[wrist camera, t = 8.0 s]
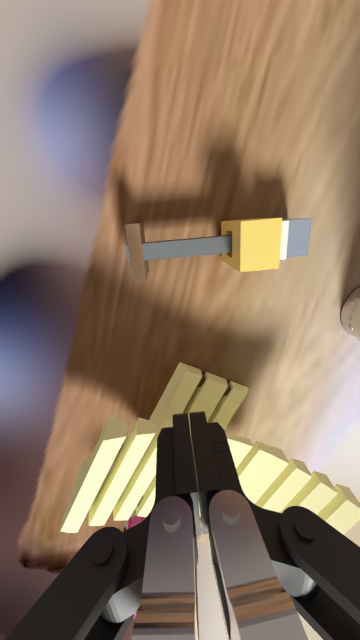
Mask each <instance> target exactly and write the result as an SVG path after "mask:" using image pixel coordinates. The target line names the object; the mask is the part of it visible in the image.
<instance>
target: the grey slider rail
mask: <svg viewBox="0 0 360 640" xmlns="http://www.w3.org/2000/svg"><path fill="white" fill-rule="evenodd" d="M142 249H143V257H144V261H146V260H157V259H168V258H179V257H190V256H201V255H212V254H223V253H232V235H223V236H211V237H200V238H189V239H178V240H167V241H155V242H144V243H142ZM126 251H127V257H128V262H130V256H129V249H128V244H127V245H126Z"/></svg>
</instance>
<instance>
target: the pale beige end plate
mask: <svg viewBox="0 0 360 640" xmlns="http://www.w3.org/2000/svg"><path fill="white" fill-rule="evenodd" d="M288 230H289V221H282V231H281V245H280V259H279V260H284V259H286V255H287V242H288Z"/></svg>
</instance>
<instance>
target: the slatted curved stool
mask: <svg viewBox="0 0 360 640" xmlns="http://www.w3.org/2000/svg"><path fill="white" fill-rule="evenodd" d="M197 385H198V386H197ZM196 387H197V388H196ZM248 389H249V388H248V387H246V386H243V385H240V384H238V383H235V382H232V381H230V382H229V384H228V383H227V381H226V379H224V378H221V377H219V376H216V375H213V374H211V373H208V372H205V374H202V373H201V370H200V369H197V368H195V367H192V366H189V365H187V364H184V363H181V362H180V363H179V364H178V366H177V368H176V370H175V372H174V374H173V376H172V378H171V379H170V381H169V383H168V385H167V387H166V389H165V391H164V393H163V394H162V396H161V398H160V400H159V402H158V404H157V406H156V408H155V409H154V411H153V413H152V415H151V417H150V419H149V420H146V419H142V418H139V417H138V419H137V421H136V423H135V425H134V427H133V429H132V431H131V433H130V435H129V436H128V438H127V440H126V442H125V444H124V446H123V447H122V449H121V451H120V453H119V454H118V456H117V458H116V459H115V457H116V455H117V453H118V451H119V449H120V448H121V446H122V444H123V442H124V440H125V438H126V434H127V428H128V421H124V420H121V419H118V418H114V417H111V416H110V417H109V419H108V421H107V423H106V425H105V427H104V430H103V432H102V434H101V436H100V438H99V440H98V442H97V444H96V446H95V449H94V451H93V453H92V455H91V457H89V456H87V455H86V457H85V460H84V462H83V464H82V466H81V469H80V471H79V473H78V475H77V477H76V480H75V483H74V486H73V489H72V492H71V495H70V498H69V501H68V504H67V507H66V510H65V513H64V516H63V520H62V523H61V527H60V531H62V532H67V533H75V532H78V530H79V528H80V526H81V524H82V522H83V520H84V518H85V516H86V514H87V512H88V510H89V509H90V507H91V509H90V514H89V520H88V525H89V526H100V525H104V524H105V523H106V521H107V519H108V517H109V516H110V514H111V512H112V510H113V508H114V510H113V518H114V520H128V519H129V518H130V516H131V514H132V513H133V511H134V509H135V511H136V515H137V516H141V517H147V516H148V514H149V513H150V511H151V510H152V508H153V505H154V502H155V488H156V461H157V459H156V455H157V437H158V435H159V433H160V431H161V429H162V428H167V427H173V416H172V415H173V414H183V413H188V418H189V413H191V412H201V411H205V415H206V420H207V423H212V422H218V423H219V424H220V426H221V427H222V428H223V429H224V430H225V429H226V427H227V425H228V423H229V422H230V420H231V419H232V417H233V415H234V414H235V412H236V411H237V409H238V408H239V406H240V404H241V403H242V401H243V400H244V398H245V397H246V395H247V394H248ZM194 390H195V391H194ZM193 392H194V393H193ZM189 426H190V418H189ZM225 433H226V437H227V440H228V444H229V447H230V451H231V454H232V457H233V461H234V464H235V467H236V471H237V474H238V478H239V481H240V485H241V488H242V490H243V492H244V494H245V495H246V497H247V498H248V499H249V500H250V501H251V502H252V503H254V504H255V505H257V506H259V507H261V508H264V509H267V510H271V511H275V512H279V513H282V512H283V511H284V510H285V509H286V508H288V507H291V506H301V507H304V508H307V509H309V510H311V511H312V512H314V513H315V514H316V515H318V516H319V517H320V518H322V519H323V520H324V521H326V522H327V523H328V524H330V525H331V526H332V527H334V528H335V529H336V530H338V531H339V532H340V533H342V534H343V535H344V534H345V533H346V532H347V531H348V530H349V529H350V528H351V527H352V526H353V525H355V524H356V523H357V522H358V521H359V520H360V503H359V501H358V500H357V499H356V497H355V496H354V494H353V493H352V492H351V490H350V489H349V488H348V487H345V486H341V485H338V484H337V485H336V486H335V487H334V486H333V485H332V483H331V482H330V480H329V479H328V477H327V476H326V475H325V474H322V473H319V472H315V471H314V472H313V473H312V474H310V472H309V470H308V469H307V467H306V465H305V463H304V462H302V461H299V460H295V459H292V458H291V459H290V460H289V462H288V461H287V459H286V457H285V455H284V453H283V451H282V450H281V449H278V448H275V447H272V446H269V445H266V444H263V443H259V442H256V443H255V444H254V445H253V446H252V443H251V441H250V439H247V438H244V437H241V436H238V435H234V434H231V433H228V432H225ZM190 434H191V431H190ZM114 459H115V461H114ZM113 461H114V462H113ZM112 463H113V464H112ZM198 500H199V499H198ZM199 513H200V507H199ZM200 527H202V523H201V515H200Z"/></svg>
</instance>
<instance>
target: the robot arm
mask: <svg viewBox="0 0 360 640" xmlns="http://www.w3.org/2000/svg"><path fill="white" fill-rule="evenodd" d="M341 322H342V325H343V327H344V329H345V330H346V331H347V332H348V333H349V334H351V335H352V336H354V337H356V338H357V339H359V340H360V287H359V288H357V289H356V290H355V291H354V292H353V293H352V294H351V295H350V296H349V297H348V299H347V300H346V302H345V304H344V306H343V309H342V312H341ZM172 416H173V427H167V428H162V429H161V431H160V433H159V435H158V437H157V455H156V459H157V461H156V488H155V502H154V505H153V508H152V510H151V511H150V513H149V514H148V516H147V517H146V518H145V519H144V520H143V521H142V522H140V523H139V524H137V525H135V526H133V527H131V528H129V529H127V530H125V531H123V532H121V531H120V530H119V529H117V528H115V527H105V528H102V529H100V530H98V531H97V532H95V533H94V534H93V535H92V536H91V537H90V538H89V539H88V540H87V541H86V543H85V544H84V545H83V546H82V547H81V549H80V550H79V551H78V552H77V553H76V555H75V556H74V557H73V558H72V559H71V561H70V562H69V563H68V564H67V565H66V567H65V568H64V569H63V570H62V571H61V573H60V574H59V575H58V576H57V578H56V579H55V580H54V581H53V582H52V584H51V585H50V586H49V587H48V588H47V590H46V591H45V592H44V593H43V595H42V596H41V597H40V598H39V599H38V600H37V602H36V603H35V604H34V605H33V607H32V608H31V609H30V610H29V611H28V613H27V614H26V615H25V616H24V617H23V619H22V620H21V621H20V622H19V623H18V625H17V626H16V627H15V628H14V629H13V631H12V632H11V633H10V634H9V635H8V637H7V638H6V639H5V640H121V639H122V637H123V635H124V633H125V632H126V630H127V628H128V627H129V625H130V623H131V621H132V619H133V618H134V616H135V620H134V626H133V632H132V640H200V629H199V605H198V604H199V603H198V579H197V563H198V549H197V538H196V535H199V534H201V527H200V515H201V523H202V531H203V534H206V533H209V539H210V546H211V555H212V564H213V569H214V574H215V578H216V584H217V589H218V594H219V598H220V603H221V609H222V614H223V619H224V624H225V629H226V634H227V638H228V640H308V638H307V636H306V633H305V631H304V628H303V625H302V623H301V620H300V618H299V615H298V613H299V614H300V615H301V616H302V617H303V618H304V619H305V620H306V621H307V622H308V623H309V625H310V626H311V627H312V628H313V629H314V630H315V631H316V632H317V633H318V634H319V635H320V636H321V637H322V639H323V640H360V547H359V546H357V545H356V544H355V543H353V542H352V541H351V540H349V539H348V538H347V537H345V536H344V535H343V534H342V533H340V532H339V531H338V530H336V529H335V528H334V527H332V526H331V525H330V524H328V523H327V522H326V521H324V520H323V519H322V518H320V517H319V516H318V515H316V514H315V513H314V512H312V511H311V510H309V509H307V508H304V507H301V506H291V507H288V508H286V509H285V510H284V511H283V512H282V513H279V512H275V511H271V510H267V509H264V508H261V507H259V506H257V505H255V504H254V503H252V502H251V501H250V500H249V499H248V498H247V497H246V495H245V494H244V492H243V490H242V488H241V485H240V481H239V478H238V474H237V471H236V467H235V464H234V461H233V457H232V454H231V451H230V447H229V444H228V440H227V437H226V433H225V430H224V429H223V428H222V427H221V426H220V424H219V423H218V422H212V423H207V420H206V415H205V411H201V412H191V413H189V418H190V426H189V418H188V413H183V414H173V415H172ZM190 431H191V434H190ZM198 499H199V500H198ZM199 507H200V513H199ZM297 612H298V613H297ZM135 614H136V615H135Z"/></svg>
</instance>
